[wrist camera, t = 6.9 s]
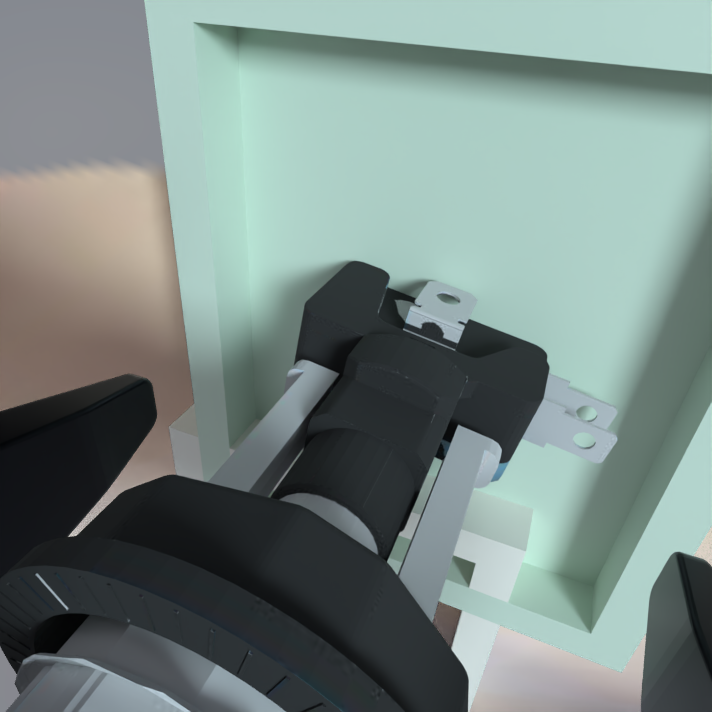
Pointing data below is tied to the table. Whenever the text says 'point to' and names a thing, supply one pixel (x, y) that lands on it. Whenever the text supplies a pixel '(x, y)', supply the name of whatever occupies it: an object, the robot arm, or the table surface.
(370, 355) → the push button
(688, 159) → the parts tray
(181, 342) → the table surface
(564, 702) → the table surface
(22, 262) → the table surface
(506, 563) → the pale rectangular frame
